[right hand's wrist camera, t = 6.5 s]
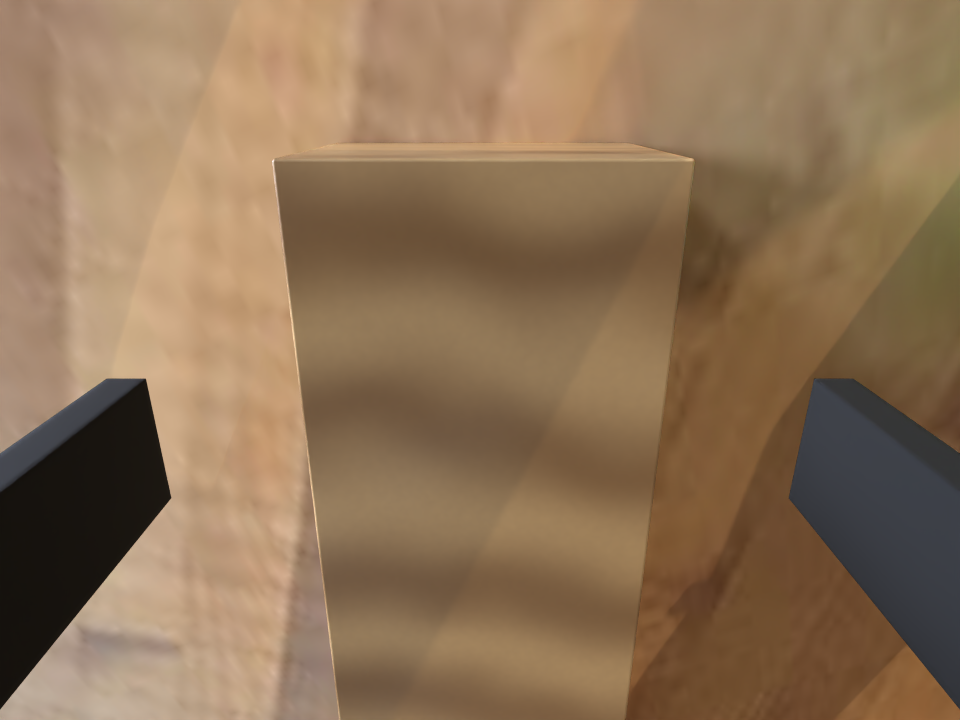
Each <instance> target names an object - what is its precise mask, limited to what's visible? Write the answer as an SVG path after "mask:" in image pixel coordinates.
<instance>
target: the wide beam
mask: <svg viewBox="0 0 960 720" xmlns="http://www.w3.org/2000/svg"><path fill="white" fill-rule="evenodd" d="M272 165H273V173H274V181H275V189H276V198H277V206H278V214H279V223H280V231H281V239H282V248H283V256H284V264H285V272H286V281H287V289H288V297H289V306H290V314H291V322H292V331H293V339H294V347H295V355H296V364H297V372H298V380H299V389H300V397H301V405H302V414H303V422H304V430H305V438H306V447H307V455H308V463H309V472H310V480H311V488H312V497H313V505H314V513H315V521H316V530H317V538H318V546H319V555H320V563H321V571H322V580H323V588H324V596H325V604H326V613H327V621H328V629H329V638H330V646H331V654H332V663H333V671H334V679H335V688H336V696H337V704H338V712H339V720H626V712H627V704H628V696H629V688H630V680H631V672H632V664H633V656H634V648H635V640H636V632H637V624H638V616H639V608H640V600H641V592H642V584H643V576H644V568H645V560H646V552H647V543H648V535H649V527H650V519H651V511H652V503H653V495H654V487H655V479H656V471H657V463H658V455H659V447H660V439H661V431H662V423H663V415H664V407H665V399H666V391H667V383H668V375H669V367H670V359H671V351H672V343H673V335H674V327H675V319H676V311H677V303H678V295H679V287H680V279H681V271H682V263H683V255H684V247H685V238H686V230H687V222H688V214H689V206H690V198H691V190H692V182H693V174H694V166H695V160H694V159H692V158H688V157H684V156H680V155H676V154H672V153H668V152H663V151H659V150H655V149H651V148H647V147H643V146H639V145H635V144H630V143H336V144H332V145H328V146H323V147H319V148H315V149H311V150H307V151H303V152H299V153H295V154H291V155H287V156H283V157H279V158H275V159H273V161H272Z"/></svg>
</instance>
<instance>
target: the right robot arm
mask: <svg viewBox="0 0 960 720" xmlns="http://www.w3.org/2000/svg"><path fill="white" fill-rule="evenodd" d="M170 499H171V495H170V490H169V485H168V481H167V476H166V471H165V466H164V462H163V457H162V452H161V448H160V443H159V438H158V434H157V429H156V424H155V420H154V415H153V410H152V406H151V401H150V396H149V391H148V387H147V382H146V379H106V380H104V381H103V382H101V383H100V384H99V385H97V386H96V387H94V388H93V389H91V390H90V391H89V392H87V393H86V394H84V395H83V396H81V397H80V398H79V399H77V400H76V401H74V402H73V403H71V404H70V405H69V406H67V407H66V408H64V409H63V410H62V411H60V412H59V413H57V414H56V415H54V416H53V417H52V418H50V419H49V420H47V421H46V422H44V423H43V424H42V425H40V426H39V427H37V428H36V429H34V430H33V431H32V432H30V433H29V434H27V435H26V436H24V437H23V438H22V439H20V440H19V441H17V442H16V443H14V444H13V445H12V446H10V447H9V448H7V449H6V450H5V451H3V452H2V453H0V709H1V708H2V706H3V705H4V704H5V703H6V702H7V700H8V699H9V698H10V697H11V695H12V694H13V693H14V692H15V690H16V689H17V688H18V687H19V685H20V684H21V683H22V682H23V681H24V679H25V678H26V677H27V676H28V674H29V673H30V672H31V671H32V669H33V668H34V667H35V666H36V664H37V663H38V662H39V661H40V660H41V658H42V657H43V656H44V655H45V653H46V652H47V651H48V650H49V648H50V647H51V646H52V645H53V643H54V642H55V641H56V640H57V639H58V637H59V636H60V635H61V634H62V632H63V631H64V630H65V629H66V627H67V626H68V625H69V624H70V622H71V621H72V620H73V619H74V618H75V616H76V615H77V614H78V613H79V611H80V610H81V609H82V608H83V606H84V605H85V604H86V603H87V601H88V600H89V599H90V598H91V597H92V595H93V594H94V593H95V592H96V590H97V589H98V588H99V587H100V585H101V584H102V583H103V582H104V581H105V579H106V578H107V577H108V576H109V574H110V573H111V572H112V571H113V569H114V568H115V567H116V566H117V564H118V563H119V562H120V561H121V560H122V558H123V557H124V556H125V555H126V553H127V552H128V551H129V550H130V548H131V547H132V546H133V545H134V543H135V542H136V541H137V540H138V539H139V537H140V536H141V535H142V534H143V532H144V531H145V530H146V529H147V527H148V526H149V525H150V524H151V522H152V521H153V520H154V519H155V518H156V516H157V515H158V514H159V513H160V511H161V510H162V509H163V508H164V506H165V505H166V504H167V503H168V501H169V500H170ZM789 499H790V500H791V501H792V503H793V504H794V505H795V506H796V508H797V509H798V510H799V511H800V513H801V514H802V515H803V516H804V518H805V519H806V520H807V521H808V522H809V524H810V525H811V526H812V527H813V529H814V530H815V531H816V532H817V534H818V535H819V536H820V537H821V539H822V540H823V541H824V542H825V543H826V545H827V546H828V547H829V548H830V550H831V551H832V552H833V553H834V555H835V556H836V557H837V558H838V560H839V561H840V562H841V563H842V564H843V566H844V567H845V568H846V569H847V571H848V572H849V573H850V574H851V576H852V577H853V578H854V579H855V581H856V582H857V583H858V584H859V585H860V587H861V588H862V589H863V590H864V592H865V593H866V594H867V595H868V597H869V598H870V599H871V600H872V602H873V603H874V604H875V605H876V606H877V608H878V609H879V610H880V611H881V613H882V614H883V615H884V616H885V618H886V619H887V620H888V621H889V622H890V624H891V625H892V626H893V627H894V629H895V630H896V631H897V632H898V634H899V635H900V636H901V637H902V639H903V640H904V641H905V642H906V643H907V645H908V646H909V647H910V648H911V650H912V651H913V652H914V653H915V655H916V656H917V657H918V658H919V660H920V661H921V662H922V663H923V664H924V666H925V667H926V668H927V669H928V671H929V672H930V673H931V674H932V676H933V677H934V678H935V679H936V681H937V682H938V683H939V684H940V685H941V687H942V688H943V689H944V690H945V692H946V693H947V694H948V695H949V697H950V698H951V699H952V700H953V702H954V703H955V704H956V705H957V706H958V708H959V709H960V453H958V452H957V451H955V450H954V449H953V448H951V447H950V446H948V445H947V444H946V443H944V442H943V441H941V440H940V439H938V438H937V437H936V436H934V435H933V434H931V433H930V432H928V431H927V430H926V429H924V428H923V427H921V426H920V425H918V424H917V423H916V422H914V421H913V420H911V419H910V418H908V417H907V416H906V415H904V414H903V413H901V412H900V411H898V410H897V409H896V408H894V407H893V406H891V405H890V404H889V403H887V402H886V401H884V400H883V399H881V398H880V397H879V396H877V395H876V394H874V393H873V392H871V391H870V390H869V389H867V388H866V387H864V386H863V385H861V384H860V383H859V382H857V381H856V380H854V379H814V382H813V387H812V391H811V396H810V401H809V406H808V410H807V415H806V420H805V424H804V429H803V434H802V438H801V443H800V448H799V452H798V457H797V462H796V466H795V471H794V476H793V481H792V485H791V490H790V495H789Z"/></svg>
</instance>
